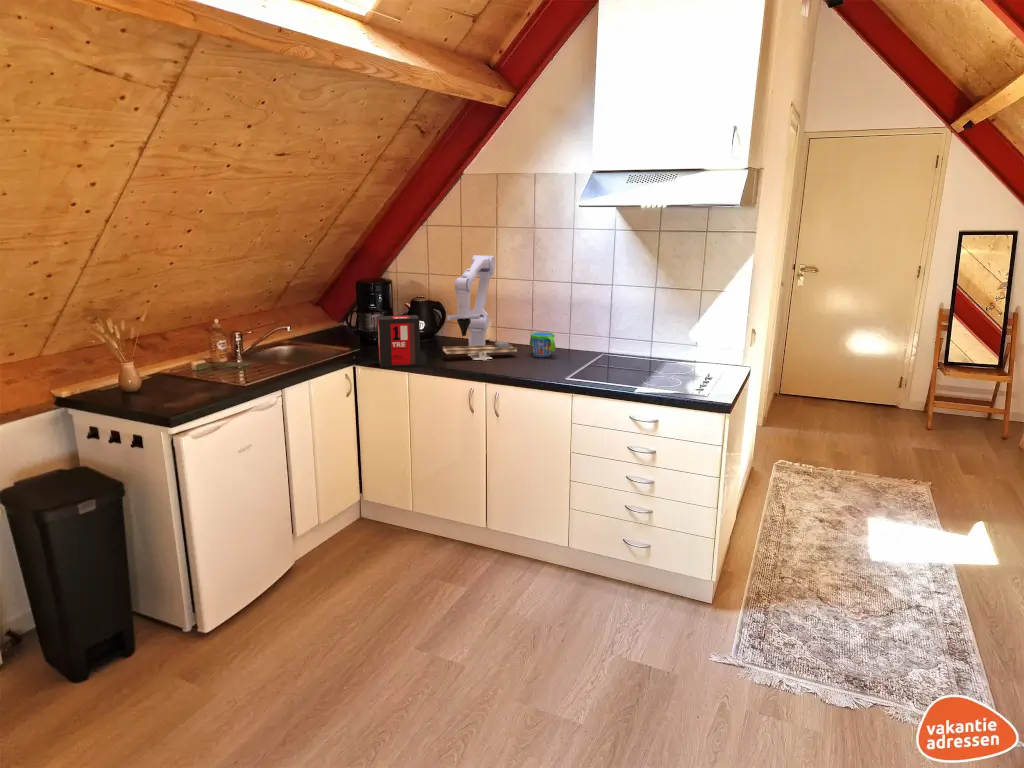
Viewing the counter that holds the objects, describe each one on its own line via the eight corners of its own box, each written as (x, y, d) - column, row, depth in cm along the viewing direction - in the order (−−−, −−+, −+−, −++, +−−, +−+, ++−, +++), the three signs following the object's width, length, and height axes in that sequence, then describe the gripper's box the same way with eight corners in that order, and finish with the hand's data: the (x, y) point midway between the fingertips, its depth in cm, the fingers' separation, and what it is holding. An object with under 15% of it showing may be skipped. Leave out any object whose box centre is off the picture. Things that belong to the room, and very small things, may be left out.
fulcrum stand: (468, 355, 299) (468, 347, 298) (485, 354, 301) (485, 347, 301) (474, 361, 289) (474, 352, 288) (492, 359, 291) (492, 351, 290)
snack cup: (522, 354, 304) (523, 332, 301) (542, 351, 309) (542, 330, 307) (541, 360, 291) (542, 337, 289) (561, 358, 296) (562, 335, 294)
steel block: (495, 347, 299) (495, 341, 298) (505, 347, 300) (505, 341, 300) (498, 349, 294) (498, 344, 294) (509, 349, 296) (509, 343, 295)
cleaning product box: (380, 367, 276) (378, 319, 271) (379, 362, 284) (377, 316, 279) (420, 365, 280) (419, 318, 275) (417, 360, 288) (416, 315, 283)
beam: (446, 354, 286) (446, 349, 286) (442, 350, 293) (442, 346, 292) (516, 351, 296) (516, 347, 296) (511, 348, 303) (511, 344, 302)
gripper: (449, 307, 286) (450, 338, 290) (481, 305, 291) (482, 336, 294) (445, 304, 293) (446, 335, 296) (477, 303, 297) (477, 333, 301)
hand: (463, 335), depth 296 cm, fingers closed
